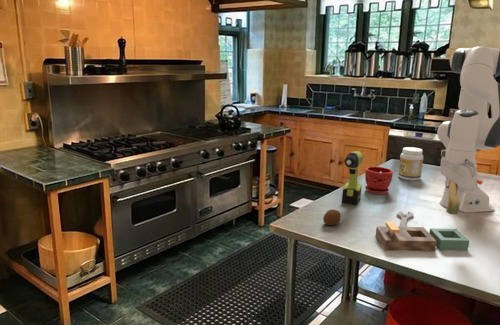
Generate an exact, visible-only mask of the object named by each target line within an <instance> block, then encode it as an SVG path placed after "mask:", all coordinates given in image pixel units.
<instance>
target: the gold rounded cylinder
mask: <svg viewBox="0 0 500 325" xmlns="http://www.w3.org/2000/svg"><path fill="white" fill-rule="evenodd" d="M457 190H458V185H457V184H456V183H454V182H453V181H452V180H451V181H450V188H449V195H448V202H447V207H446V209H445V212H446V213H448V214H450V215H458V214H459V212H460V211H459V205H460V199H461V197H457V196H456V195H455V194H456V191H457Z"/></svg>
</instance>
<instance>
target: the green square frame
mask: <svg viewBox="0 0 500 325" xmlns="http://www.w3.org/2000/svg"><path fill="white" fill-rule="evenodd" d="M428 232H429V233H430V235H431V236H432V237H433V238H434V239H435V240H436V241H437V243H436V249H438V250H439V251H455V252H456V251H460V252H461V251H469V246H470V239H468V238H467V237H466V236H465V234H463V233H462V232H460V230H458V229H457V228H433V227H432V228H429V231H428Z"/></svg>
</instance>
